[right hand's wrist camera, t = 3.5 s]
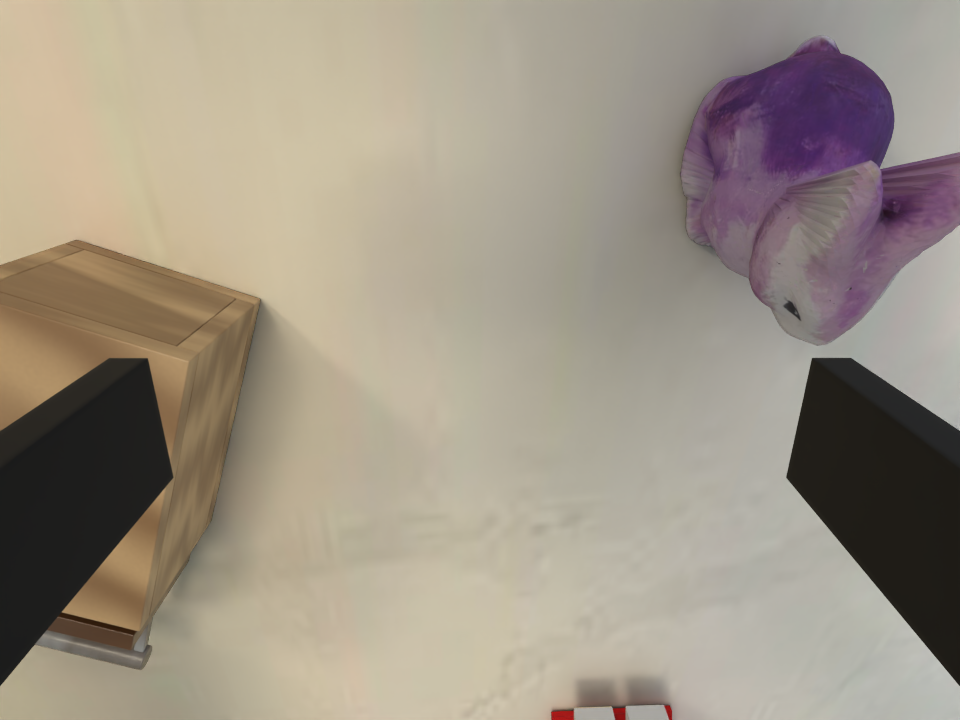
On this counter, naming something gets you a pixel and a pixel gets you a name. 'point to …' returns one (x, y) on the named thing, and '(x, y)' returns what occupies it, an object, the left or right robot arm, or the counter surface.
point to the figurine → (812, 189)
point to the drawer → (102, 637)
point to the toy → (616, 713)
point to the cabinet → (177, 382)
